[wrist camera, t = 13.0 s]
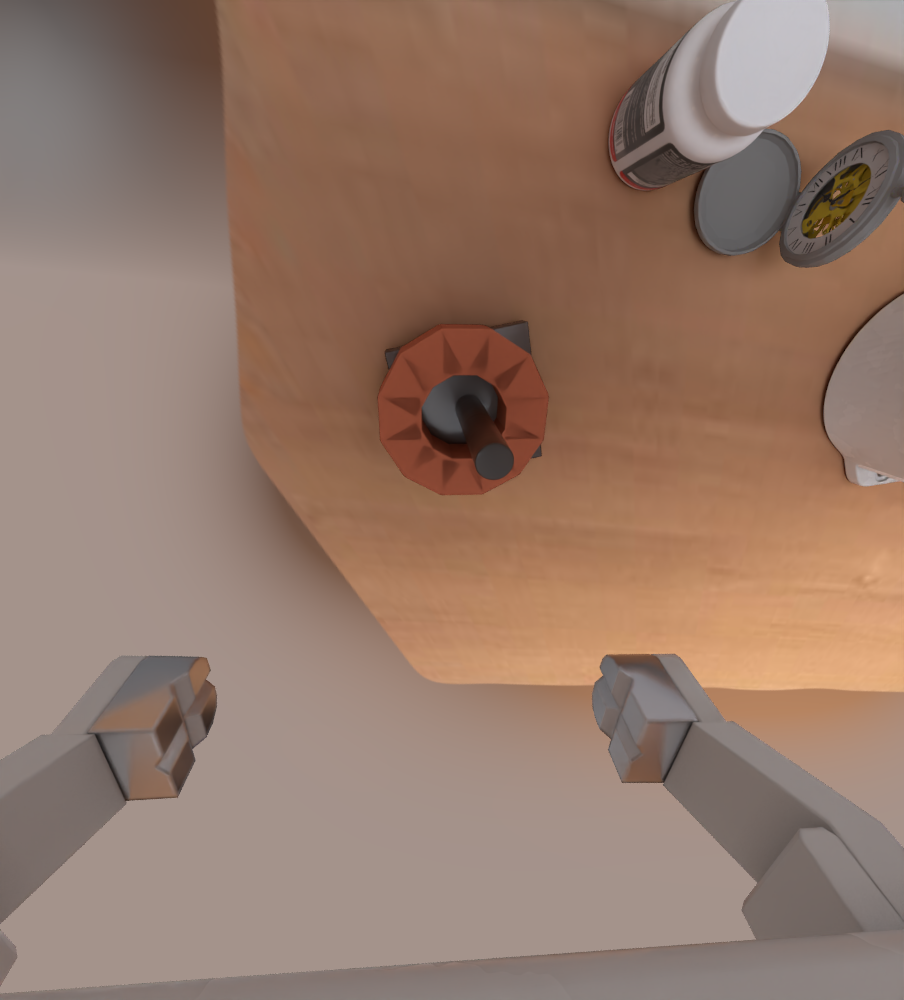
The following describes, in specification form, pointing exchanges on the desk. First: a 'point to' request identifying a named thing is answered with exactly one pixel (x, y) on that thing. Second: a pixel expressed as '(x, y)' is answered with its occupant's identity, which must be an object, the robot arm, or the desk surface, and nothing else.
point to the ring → (435, 363)
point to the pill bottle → (718, 89)
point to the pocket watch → (799, 198)
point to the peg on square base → (472, 411)
